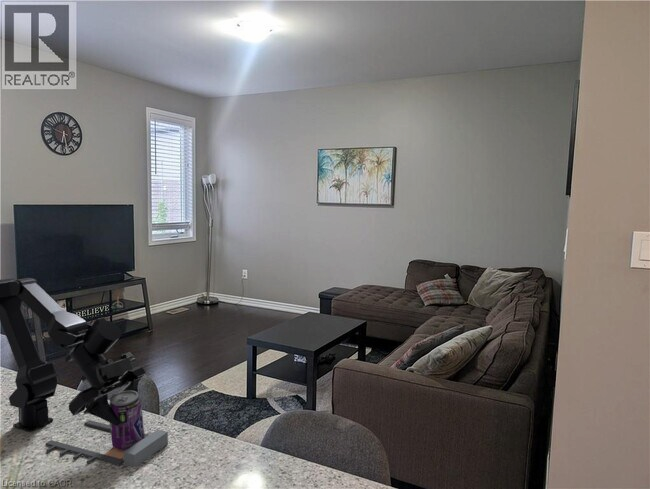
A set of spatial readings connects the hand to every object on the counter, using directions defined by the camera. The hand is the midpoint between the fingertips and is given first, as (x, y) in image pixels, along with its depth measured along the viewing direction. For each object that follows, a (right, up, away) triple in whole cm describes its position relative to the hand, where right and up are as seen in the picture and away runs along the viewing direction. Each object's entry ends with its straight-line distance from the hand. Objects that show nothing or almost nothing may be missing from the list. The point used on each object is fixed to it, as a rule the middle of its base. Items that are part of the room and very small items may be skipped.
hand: (129, 418), depth 107 cm
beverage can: (-1, -7, +2) cm, 7 cm away
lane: (-7, -7, +2) cm, 10 cm away
